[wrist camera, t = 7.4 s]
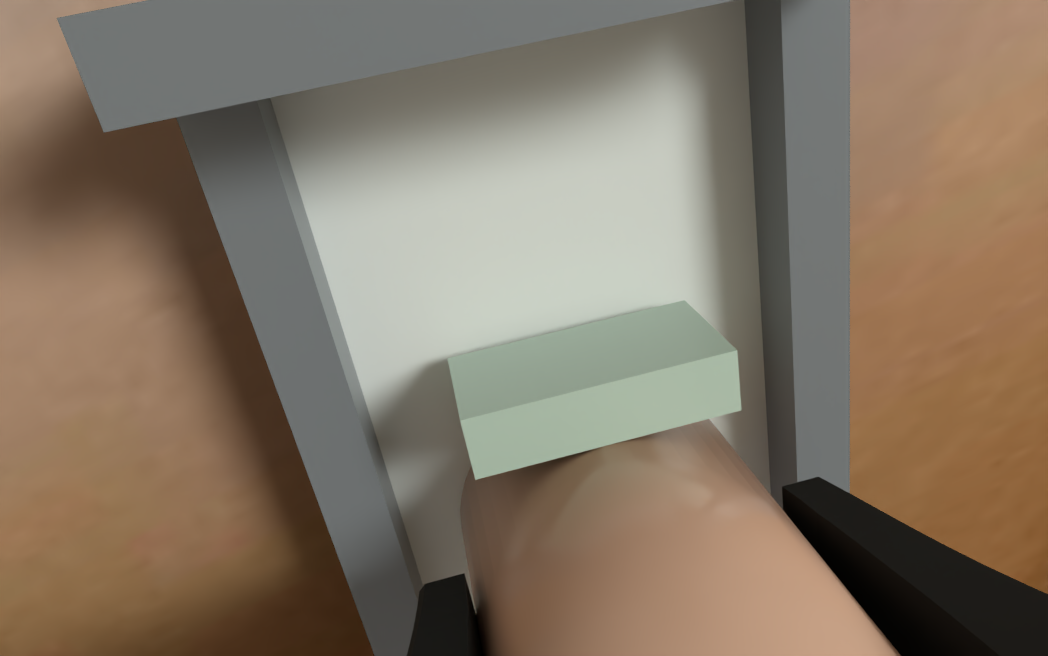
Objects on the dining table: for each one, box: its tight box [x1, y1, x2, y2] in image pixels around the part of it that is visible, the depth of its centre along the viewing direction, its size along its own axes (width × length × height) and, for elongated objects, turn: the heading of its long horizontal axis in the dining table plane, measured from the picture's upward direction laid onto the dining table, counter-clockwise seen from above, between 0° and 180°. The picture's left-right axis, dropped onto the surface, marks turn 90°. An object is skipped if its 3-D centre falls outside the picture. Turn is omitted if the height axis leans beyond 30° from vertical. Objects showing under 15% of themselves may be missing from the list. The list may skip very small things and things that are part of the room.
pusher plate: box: [447, 300, 741, 480], centre depth 12 cm, size 4×1×2 cm, turn 100°
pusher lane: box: [57, 0, 850, 656], centre depth 13 cm, size 9×20×4 cm, turn 10°
